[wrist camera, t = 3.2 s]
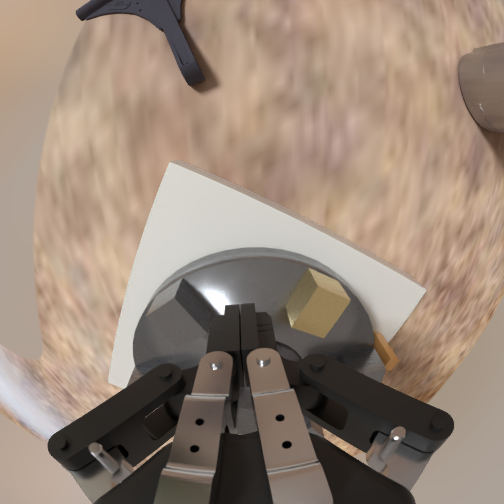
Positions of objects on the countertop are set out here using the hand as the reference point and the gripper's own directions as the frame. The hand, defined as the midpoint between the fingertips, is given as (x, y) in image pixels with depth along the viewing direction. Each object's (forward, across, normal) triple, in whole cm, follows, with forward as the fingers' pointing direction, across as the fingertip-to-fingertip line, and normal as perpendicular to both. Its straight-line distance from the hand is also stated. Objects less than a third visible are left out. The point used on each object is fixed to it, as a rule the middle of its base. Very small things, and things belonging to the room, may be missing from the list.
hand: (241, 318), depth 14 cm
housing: (+10, 0, +8) cm, 13 cm away
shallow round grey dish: (+7, 0, +8) cm, 11 cm away
